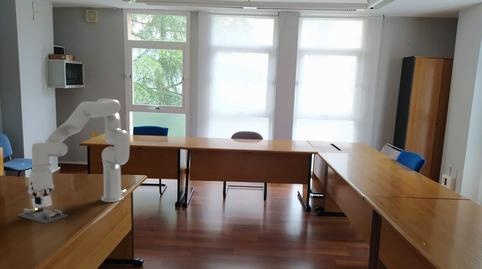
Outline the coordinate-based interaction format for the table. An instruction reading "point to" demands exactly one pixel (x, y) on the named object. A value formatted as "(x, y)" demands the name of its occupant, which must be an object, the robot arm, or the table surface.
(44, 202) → the tall grey pillar block
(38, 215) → the grey flat plate
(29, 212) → the twin roller tray
